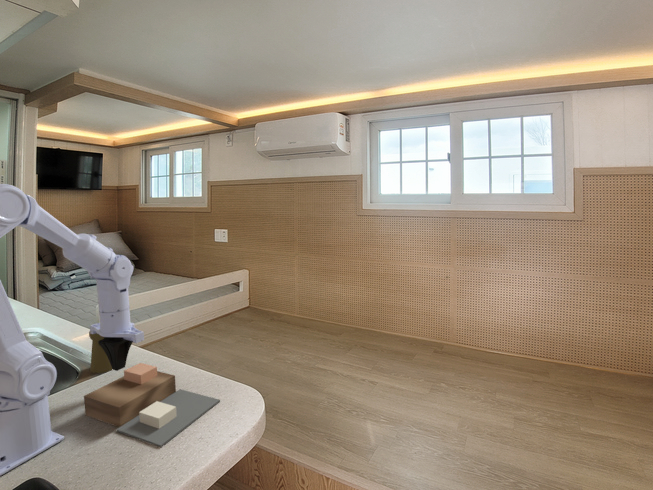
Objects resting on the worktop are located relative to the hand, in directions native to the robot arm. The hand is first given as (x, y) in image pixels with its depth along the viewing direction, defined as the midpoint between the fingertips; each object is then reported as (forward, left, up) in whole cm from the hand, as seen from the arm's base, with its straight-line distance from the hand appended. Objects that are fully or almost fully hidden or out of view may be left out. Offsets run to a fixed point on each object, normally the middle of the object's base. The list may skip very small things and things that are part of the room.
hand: (119, 368), depth 78 cm
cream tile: (-5, -18, -2) cm, 19 cm away
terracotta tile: (0, -7, -1) cm, 7 cm away
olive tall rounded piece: (+6, +13, -5) cm, 15 cm away
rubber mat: (-3, -18, -5) cm, 19 cm away
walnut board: (-3, -8, -5) cm, 10 cm away
